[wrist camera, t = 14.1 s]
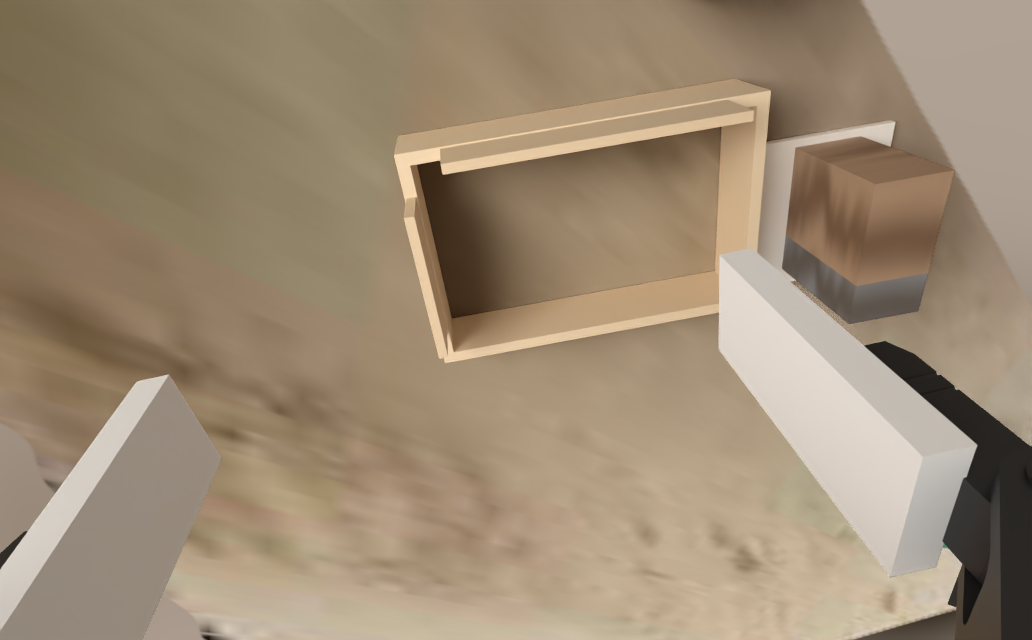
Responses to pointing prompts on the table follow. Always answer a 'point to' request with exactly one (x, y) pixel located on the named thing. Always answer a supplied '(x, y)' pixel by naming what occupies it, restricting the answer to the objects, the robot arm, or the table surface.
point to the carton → (574, 131)
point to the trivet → (780, 180)
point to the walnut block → (863, 226)
